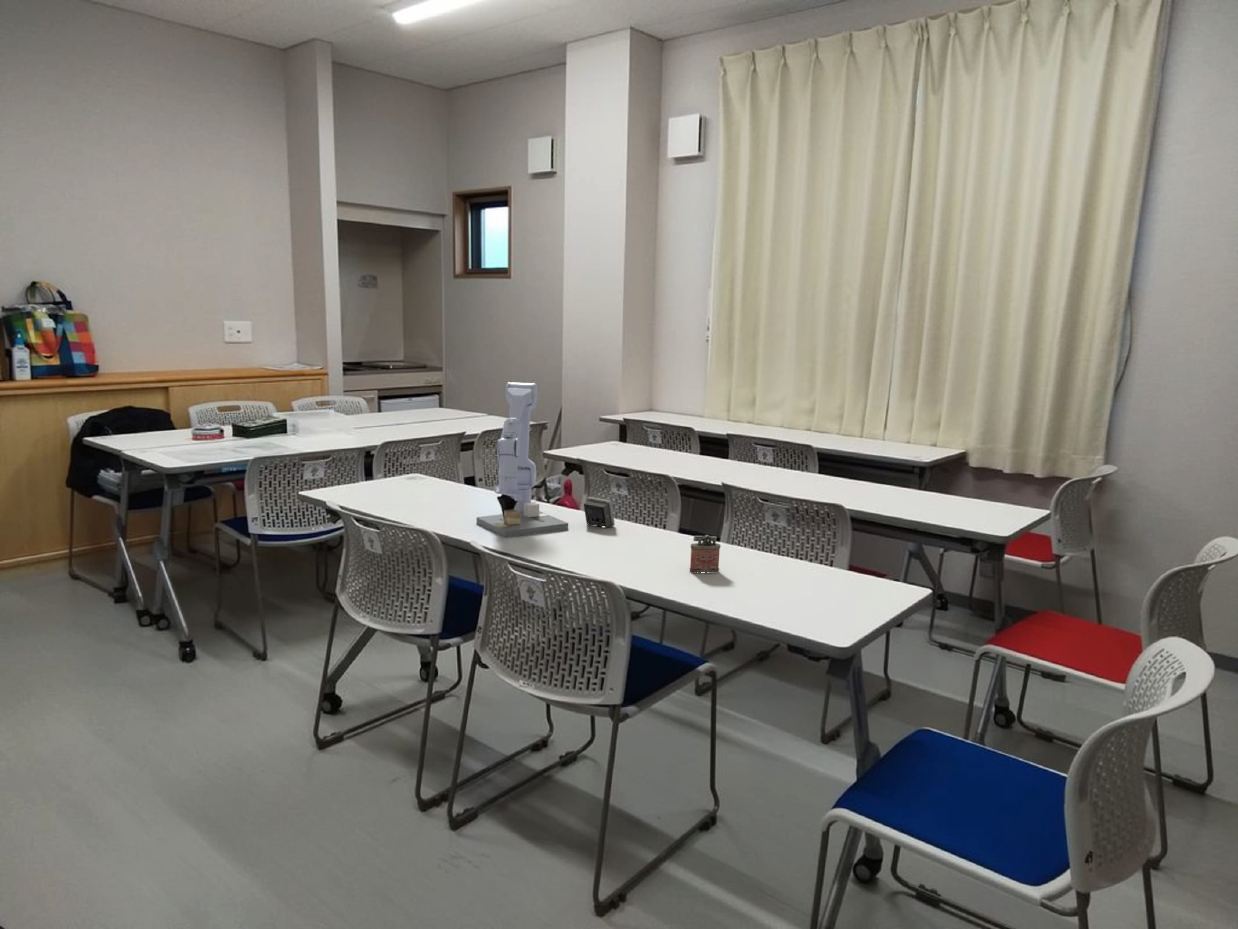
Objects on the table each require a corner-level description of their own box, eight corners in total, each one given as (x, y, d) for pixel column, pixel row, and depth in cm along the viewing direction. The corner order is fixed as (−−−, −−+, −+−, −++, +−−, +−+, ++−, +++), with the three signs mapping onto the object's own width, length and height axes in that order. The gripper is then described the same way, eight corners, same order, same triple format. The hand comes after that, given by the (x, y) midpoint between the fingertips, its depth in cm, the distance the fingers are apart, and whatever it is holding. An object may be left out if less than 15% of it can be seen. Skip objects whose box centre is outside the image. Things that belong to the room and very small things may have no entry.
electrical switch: (615, 526, 266) (614, 499, 264) (606, 531, 262) (605, 503, 260) (591, 522, 271) (590, 495, 269) (582, 526, 267) (581, 499, 265)
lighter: (716, 569, 224) (718, 533, 222) (720, 573, 221) (722, 537, 219) (688, 570, 223) (689, 534, 221) (691, 573, 219) (693, 537, 218)
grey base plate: (476, 523, 264) (476, 516, 264) (536, 515, 277) (536, 509, 276) (505, 537, 248) (505, 531, 248) (568, 529, 261) (568, 522, 260)
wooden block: (504, 522, 257) (504, 510, 256) (515, 521, 259) (515, 509, 259) (508, 525, 255) (508, 512, 254) (520, 523, 257) (520, 511, 256)
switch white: (523, 515, 267) (523, 503, 267) (534, 514, 270) (534, 502, 269) (528, 517, 265) (528, 505, 264) (539, 516, 267) (539, 504, 267)
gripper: (485, 473, 261) (485, 515, 263) (507, 481, 249) (506, 525, 251) (506, 471, 265) (505, 513, 267) (527, 479, 253) (527, 522, 255)
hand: (507, 518), depth 259 cm, fingers closed
